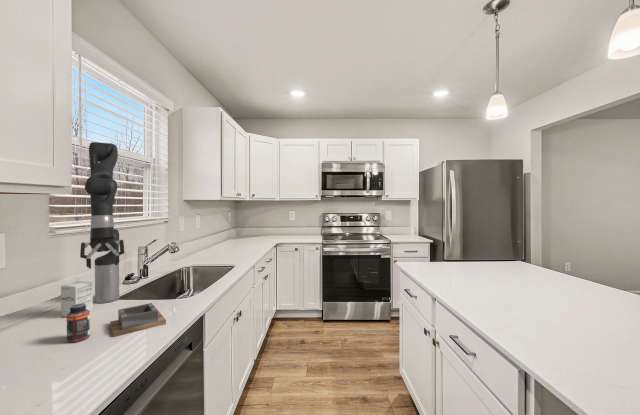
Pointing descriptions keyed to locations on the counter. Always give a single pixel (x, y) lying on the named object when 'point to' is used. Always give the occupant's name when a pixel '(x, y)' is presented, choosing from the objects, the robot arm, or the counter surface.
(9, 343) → the counter surface
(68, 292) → the supplement box
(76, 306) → the supplement bottle
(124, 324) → the socket stand
